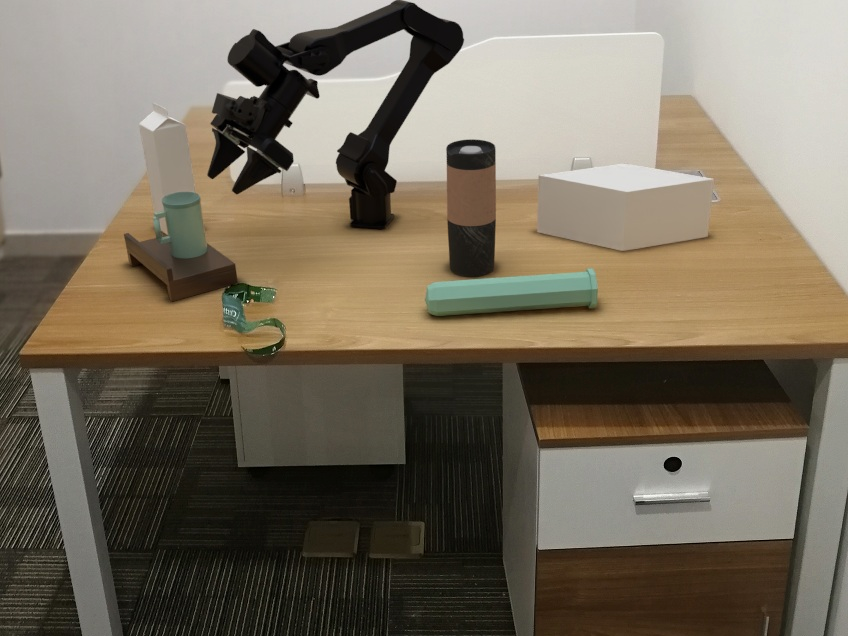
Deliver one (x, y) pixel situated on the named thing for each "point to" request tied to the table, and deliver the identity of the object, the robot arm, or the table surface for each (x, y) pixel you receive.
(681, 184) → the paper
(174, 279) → the shelf
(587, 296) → the container
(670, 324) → the table surface
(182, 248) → the green mug
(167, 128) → the milk
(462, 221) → the travel mug
